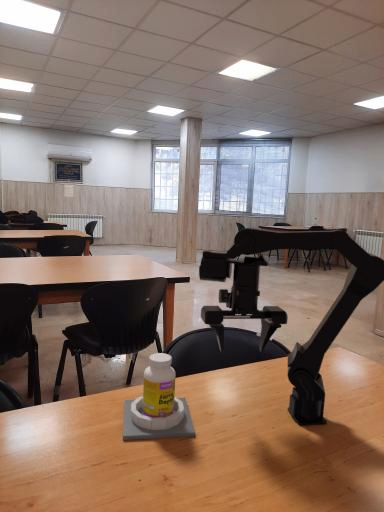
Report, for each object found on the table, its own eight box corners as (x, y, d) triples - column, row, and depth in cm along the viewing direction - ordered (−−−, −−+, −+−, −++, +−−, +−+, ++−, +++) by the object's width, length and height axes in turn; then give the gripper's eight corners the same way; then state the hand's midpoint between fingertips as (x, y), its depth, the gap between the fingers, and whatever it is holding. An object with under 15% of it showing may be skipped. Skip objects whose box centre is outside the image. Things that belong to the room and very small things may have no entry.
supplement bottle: (157, 427, 76) (159, 366, 75) (135, 414, 81) (137, 356, 79) (180, 415, 81) (182, 357, 80) (159, 403, 86) (161, 348, 84)
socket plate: (185, 400, 89) (185, 389, 89) (194, 436, 75) (195, 422, 75) (124, 403, 87) (124, 391, 86) (122, 439, 73) (123, 426, 73)
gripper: (272, 278, 94) (268, 339, 96) (198, 276, 91) (195, 339, 93) (291, 287, 83) (285, 356, 85) (207, 286, 80) (203, 357, 82)
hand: (241, 351), depth 86 cm, fingers open, 9 cm apart
